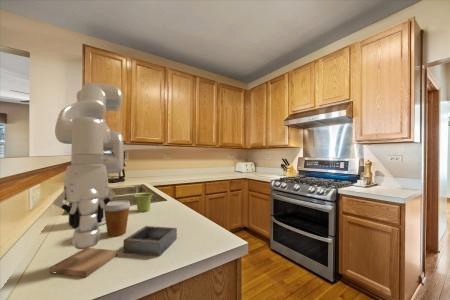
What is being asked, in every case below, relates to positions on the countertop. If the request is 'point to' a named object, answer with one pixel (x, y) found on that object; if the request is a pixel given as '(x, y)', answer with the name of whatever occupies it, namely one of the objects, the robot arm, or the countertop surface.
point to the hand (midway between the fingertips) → (86, 223)
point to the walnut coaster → (84, 262)
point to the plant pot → (143, 202)
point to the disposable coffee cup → (116, 217)
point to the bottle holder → (150, 247)
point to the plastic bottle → (87, 220)
